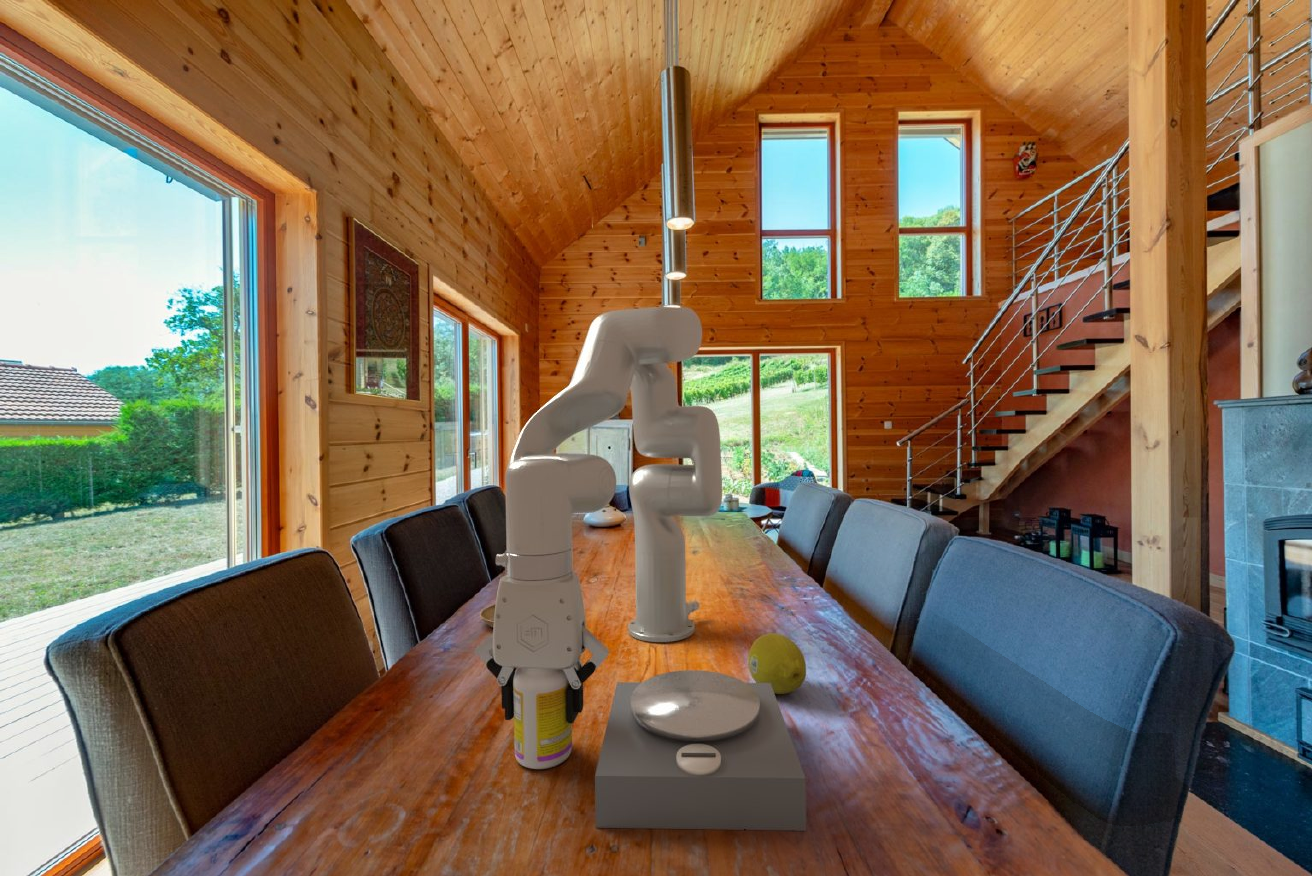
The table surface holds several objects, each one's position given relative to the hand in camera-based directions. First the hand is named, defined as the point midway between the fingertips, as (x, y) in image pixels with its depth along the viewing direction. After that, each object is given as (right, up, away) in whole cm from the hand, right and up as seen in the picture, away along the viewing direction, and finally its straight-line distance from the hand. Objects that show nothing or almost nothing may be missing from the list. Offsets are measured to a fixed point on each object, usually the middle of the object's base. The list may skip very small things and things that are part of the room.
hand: (542, 714), depth 66 cm
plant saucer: (-15, -5, +47) cm, 50 cm away
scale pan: (+18, +1, 0) cm, 18 cm away
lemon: (+31, -4, +15) cm, 35 cm away
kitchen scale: (+18, -5, -2) cm, 19 cm away
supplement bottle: (0, -5, 0) cm, 5 cm away
